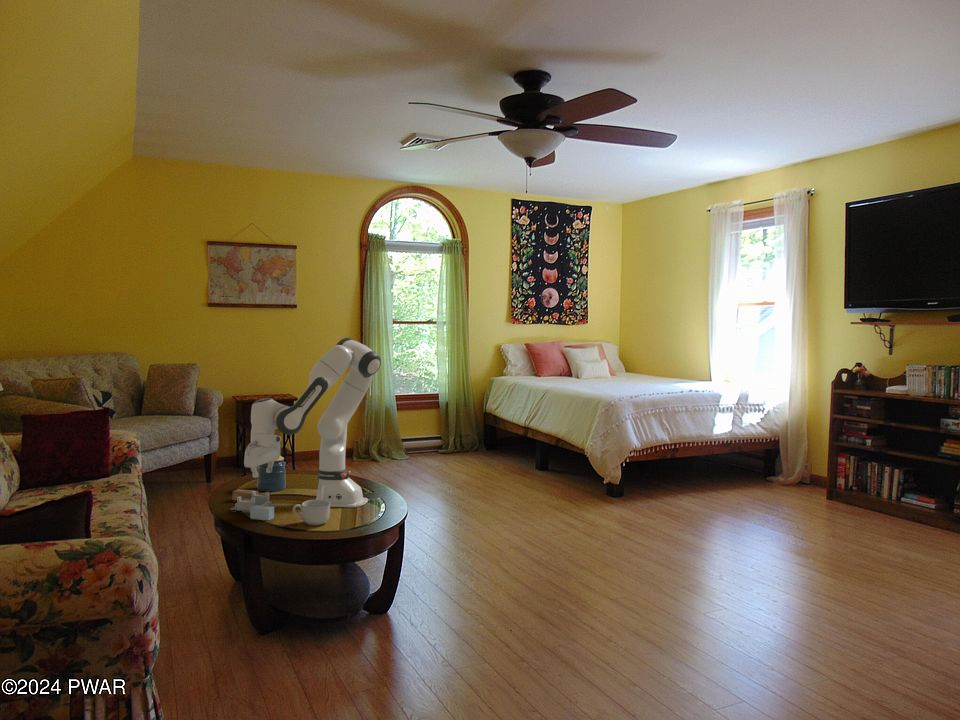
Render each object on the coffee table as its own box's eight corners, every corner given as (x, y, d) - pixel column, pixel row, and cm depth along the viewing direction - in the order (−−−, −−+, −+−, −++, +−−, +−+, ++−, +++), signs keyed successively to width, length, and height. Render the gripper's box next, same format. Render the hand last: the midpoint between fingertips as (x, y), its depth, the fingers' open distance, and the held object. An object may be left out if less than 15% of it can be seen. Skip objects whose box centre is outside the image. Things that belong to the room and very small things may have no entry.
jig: (276, 506, 279) (276, 492, 279) (260, 514, 268) (260, 499, 268) (246, 504, 283) (246, 490, 283) (229, 511, 271) (229, 496, 271)
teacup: (332, 519, 261) (332, 499, 261) (327, 527, 251) (327, 506, 250) (296, 519, 261) (297, 499, 261) (289, 527, 250) (290, 506, 250)
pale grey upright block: (274, 518, 263) (274, 506, 263) (268, 520, 259) (268, 509, 259) (255, 516, 265) (255, 505, 265) (250, 519, 261) (250, 507, 261)
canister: (252, 491, 306) (252, 453, 306) (262, 485, 319) (262, 448, 319) (280, 492, 306) (280, 453, 305) (289, 486, 319) (289, 449, 318)
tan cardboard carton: (238, 499, 292) (238, 489, 292) (258, 501, 289) (258, 490, 289) (232, 501, 288) (232, 491, 288) (253, 503, 285) (253, 492, 285)
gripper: (254, 444, 250) (254, 480, 251) (283, 436, 270) (283, 470, 270) (239, 443, 252) (239, 479, 252) (269, 435, 272) (269, 469, 272)
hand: (262, 474), depth 261 cm, fingers open, 8 cm apart
